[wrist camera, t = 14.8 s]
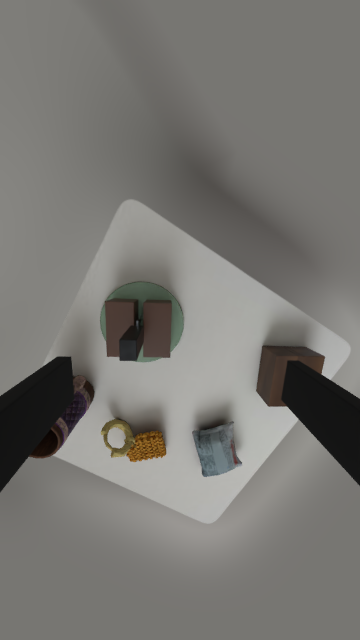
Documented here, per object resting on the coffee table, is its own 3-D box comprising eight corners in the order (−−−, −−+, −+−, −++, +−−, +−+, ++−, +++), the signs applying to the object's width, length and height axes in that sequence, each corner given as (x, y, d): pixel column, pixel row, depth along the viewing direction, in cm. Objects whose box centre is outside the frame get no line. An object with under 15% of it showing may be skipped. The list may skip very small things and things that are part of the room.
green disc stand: (185, 283, 35) (188, 284, 29) (181, 361, 38) (183, 374, 32) (99, 280, 34) (87, 280, 28) (103, 360, 37) (92, 373, 31)
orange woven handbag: (183, 458, 36) (110, 437, 31) (151, 482, 40) (81, 466, 34) (179, 424, 42) (118, 400, 36) (152, 447, 46) (92, 429, 40)
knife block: (305, 346, 39) (325, 356, 34) (297, 391, 41) (314, 406, 36) (262, 345, 38) (276, 355, 33) (256, 391, 40) (268, 406, 35)
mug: (84, 413, 39) (48, 472, 27) (51, 397, 38) (-2, 451, 26) (110, 374, 37) (83, 418, 26) (76, 356, 36) (33, 393, 24)
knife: (148, 313, 34) (136, 334, 22) (147, 335, 35) (136, 366, 23) (136, 313, 34) (118, 333, 22) (136, 334, 35) (119, 366, 22)
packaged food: (229, 413, 41) (237, 431, 36) (238, 457, 43) (247, 479, 39) (190, 423, 41) (192, 442, 36) (201, 466, 43) (205, 489, 39)
